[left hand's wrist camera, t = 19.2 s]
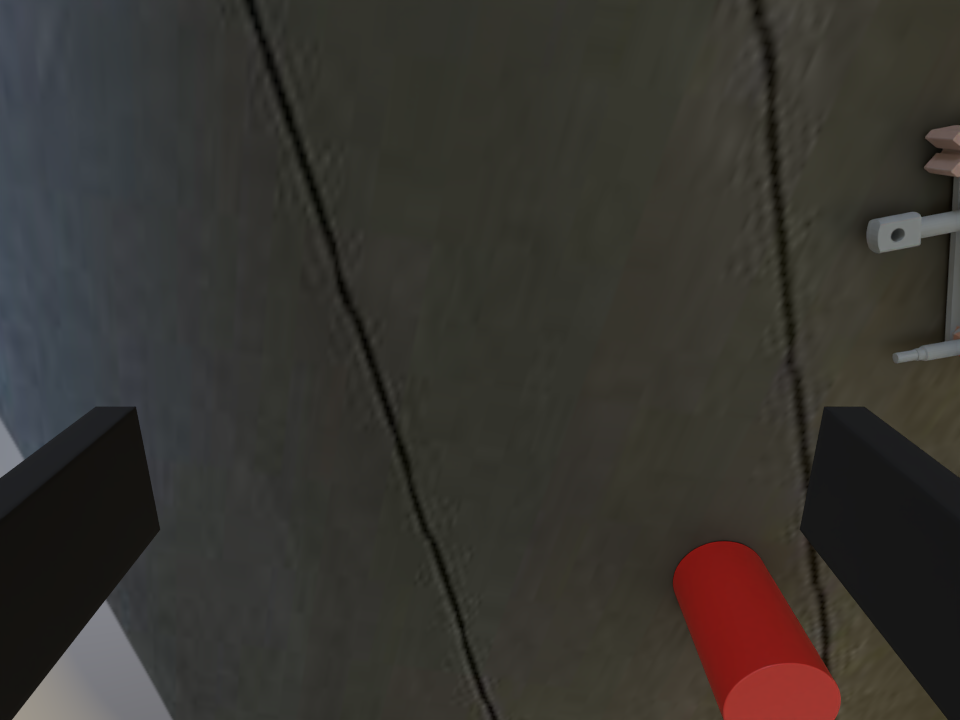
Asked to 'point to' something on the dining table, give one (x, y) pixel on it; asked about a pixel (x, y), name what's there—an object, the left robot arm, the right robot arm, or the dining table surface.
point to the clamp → (911, 227)
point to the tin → (751, 638)
